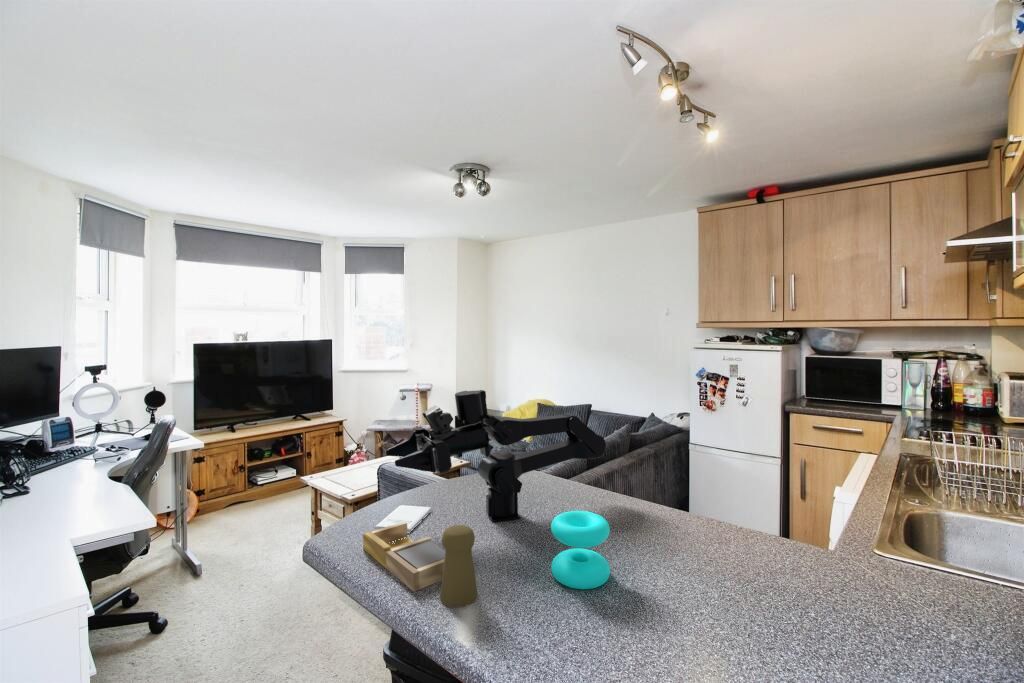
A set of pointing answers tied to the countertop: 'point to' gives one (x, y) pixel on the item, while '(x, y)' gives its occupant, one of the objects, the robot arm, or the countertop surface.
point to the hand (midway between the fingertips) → (390, 458)
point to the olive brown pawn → (458, 567)
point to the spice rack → (406, 556)
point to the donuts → (580, 549)
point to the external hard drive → (405, 516)
